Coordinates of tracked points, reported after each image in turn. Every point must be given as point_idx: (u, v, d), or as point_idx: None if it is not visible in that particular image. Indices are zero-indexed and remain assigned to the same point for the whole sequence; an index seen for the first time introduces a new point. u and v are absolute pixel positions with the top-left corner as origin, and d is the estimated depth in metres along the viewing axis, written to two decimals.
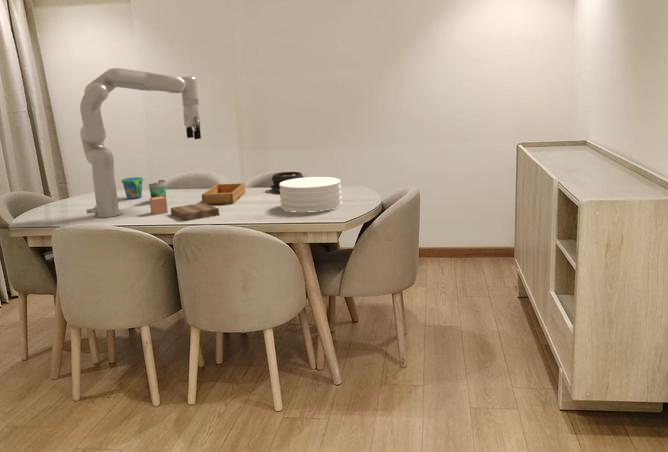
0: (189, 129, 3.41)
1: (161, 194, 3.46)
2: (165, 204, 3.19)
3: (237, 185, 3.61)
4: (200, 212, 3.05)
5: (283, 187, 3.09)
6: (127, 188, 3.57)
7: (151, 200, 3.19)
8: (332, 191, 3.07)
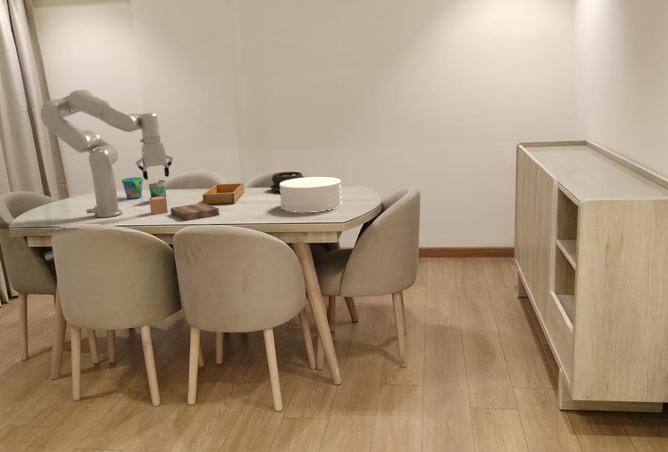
0: None
1: (161, 194, 3.46)
2: (165, 204, 3.19)
3: (236, 185, 3.62)
4: (200, 212, 3.05)
5: (283, 187, 3.09)
6: (127, 188, 3.57)
7: (151, 200, 3.19)
8: (332, 191, 3.07)
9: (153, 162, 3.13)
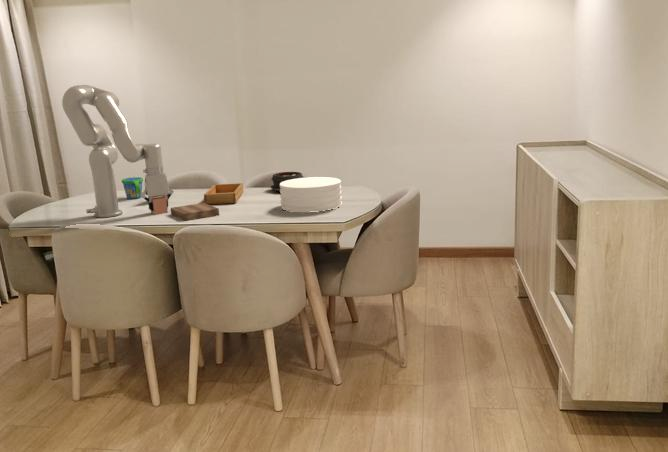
0: None
1: None
2: (165, 204, 3.19)
3: (235, 185, 3.62)
4: (200, 212, 3.05)
5: (283, 187, 3.08)
6: (127, 188, 3.57)
7: None
8: (332, 191, 3.07)
9: (156, 192, 3.16)
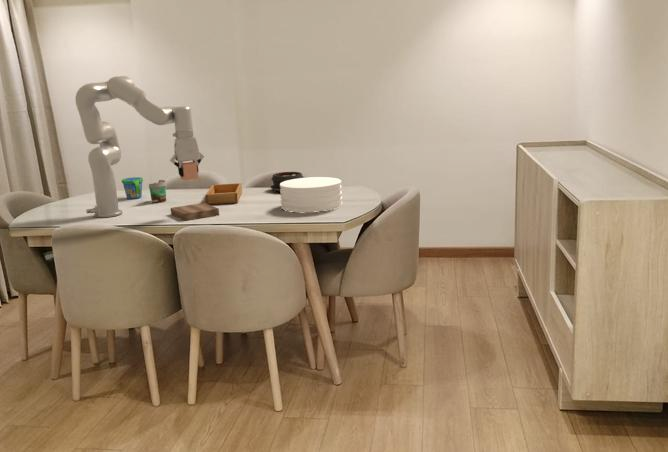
0: None
1: (161, 194, 3.46)
2: (195, 169, 3.08)
3: (234, 185, 3.62)
4: (200, 212, 3.05)
5: (284, 187, 3.08)
6: (127, 188, 3.57)
7: None
8: (333, 191, 3.07)
9: (186, 157, 3.05)
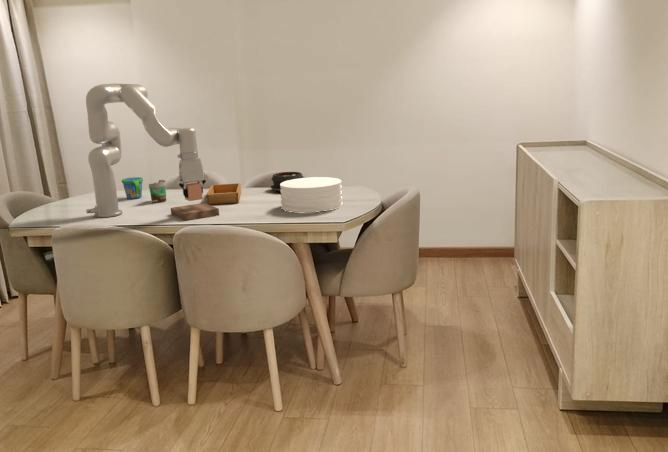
0: None
1: (161, 194, 3.46)
2: (199, 190, 3.09)
3: (233, 185, 3.62)
4: (200, 212, 3.05)
5: (284, 187, 3.08)
6: (127, 188, 3.57)
7: None
8: (333, 191, 3.06)
9: (190, 178, 3.06)
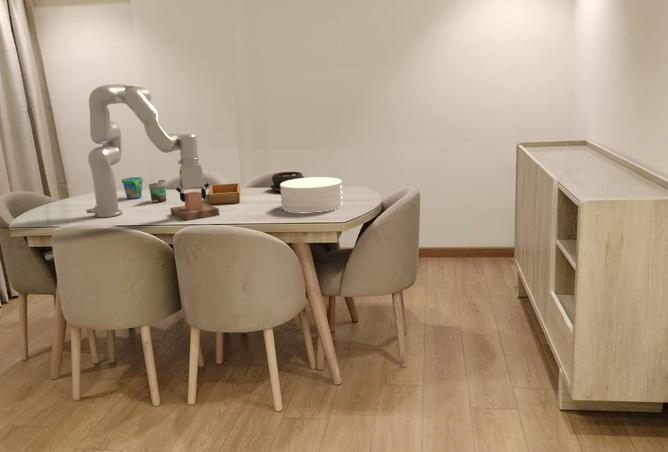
0: None
1: (161, 194, 3.46)
2: (200, 199, 3.10)
3: (232, 185, 3.62)
4: (200, 212, 3.05)
5: (284, 187, 3.08)
6: (127, 188, 3.57)
7: (186, 195, 3.09)
8: (333, 191, 3.06)
9: (191, 184, 3.07)
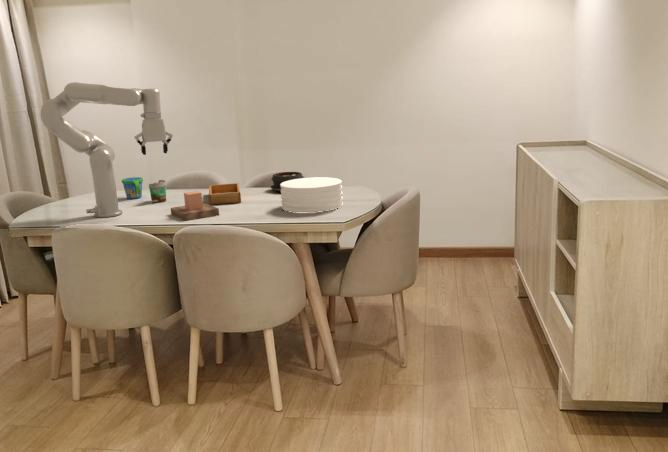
0: None
1: (161, 194, 3.46)
2: (200, 199, 3.10)
3: (231, 185, 3.62)
4: (200, 212, 3.05)
5: (284, 188, 3.07)
6: (127, 188, 3.57)
7: (186, 195, 3.09)
8: (333, 191, 3.06)
9: (152, 137, 3.15)
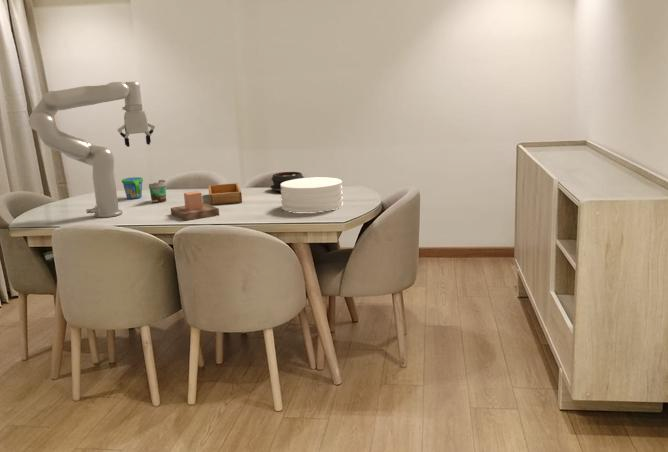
0: None
1: (161, 194, 3.46)
2: (200, 199, 3.10)
3: (230, 185, 3.62)
4: (200, 212, 3.05)
5: (284, 188, 3.07)
6: (127, 188, 3.57)
7: (186, 195, 3.09)
8: (334, 192, 3.06)
9: (135, 129, 3.21)
